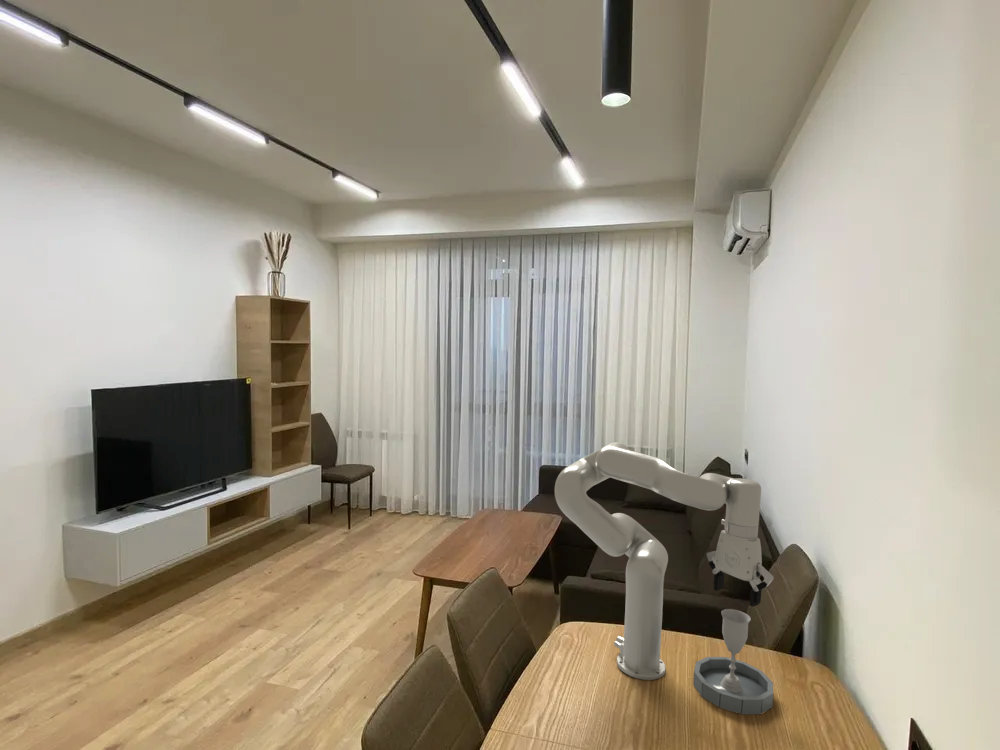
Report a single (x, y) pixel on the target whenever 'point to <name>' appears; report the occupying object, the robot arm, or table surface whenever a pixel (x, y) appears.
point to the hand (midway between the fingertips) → (736, 597)
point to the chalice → (734, 643)
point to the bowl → (748, 701)
